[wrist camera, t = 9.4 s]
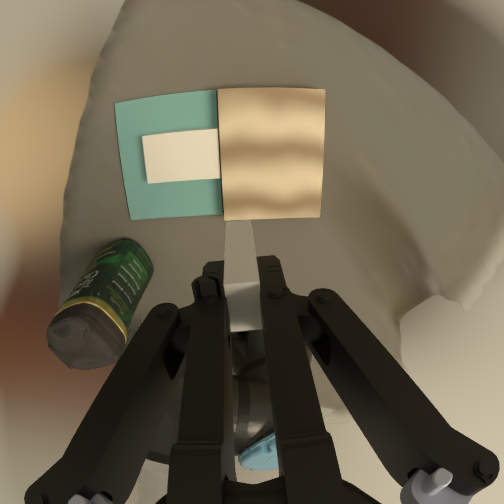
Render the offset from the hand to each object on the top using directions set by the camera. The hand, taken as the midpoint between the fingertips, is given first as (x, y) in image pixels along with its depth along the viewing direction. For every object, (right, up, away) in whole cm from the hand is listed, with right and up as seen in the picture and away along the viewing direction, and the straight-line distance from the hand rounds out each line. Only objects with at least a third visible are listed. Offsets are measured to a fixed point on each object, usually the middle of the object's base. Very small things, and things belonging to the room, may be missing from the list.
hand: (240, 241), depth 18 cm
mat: (-10, +11, +16) cm, 22 cm away
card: (-8, +11, +16) cm, 21 cm away
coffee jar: (-19, -2, +24) cm, 30 cm away
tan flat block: (+3, +12, +17) cm, 21 cm away
